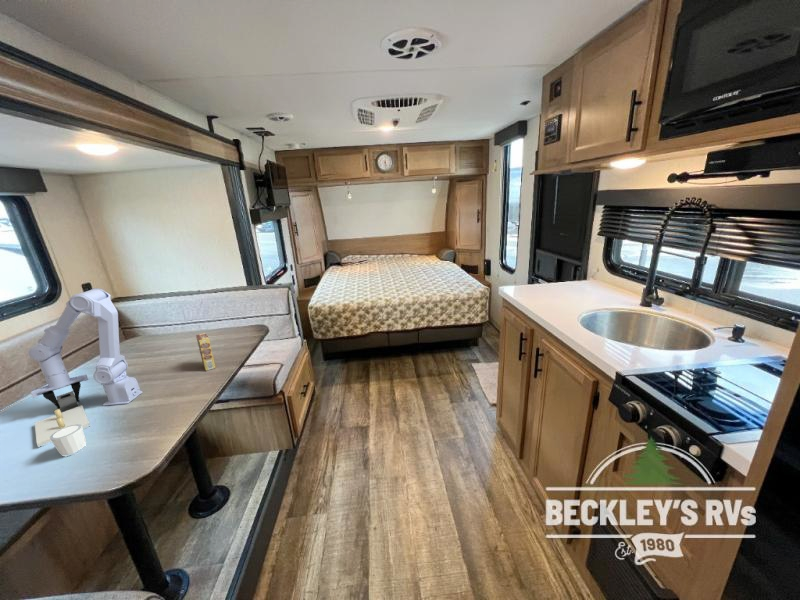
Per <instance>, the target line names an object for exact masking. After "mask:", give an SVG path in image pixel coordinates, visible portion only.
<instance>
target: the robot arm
mask: <svg viewBox="0 0 800 600" xmlns="http://www.w3.org/2000/svg"><path fill="white" fill-rule="evenodd" d="M111 297H112V295H111V294H110V293H109V292H107V291H105V290H104V289H102V288H91V289H90V290H87V291H83V292H80V293H75V294H73V295H72V296H71V297H70V298H69V300H68V301H67V302H66V303H65V305H66V306H65V308H64V310H63V312H62V313H61V315H60V317H59V318H58V319H57V322H56V324H55V325H50V326H49V327H47V328H44V330H43V332H44V334H43V335H42V337H41V338H39V339H38V340H37V344H36V345H33V346H30V348H29V350H28V356H29V358H30V359H31V360H34V361H35V362H37V363H38V365H39V368H40V370H41V372H42V375H43V377H44V379H45V381H46V384H47V385H45V386H42V387H39V388H38V389H35V390H32V391H30V395H31V397H32V398H37V397H38V396H41V395H42V396H43V398H44V399H46V400H47V401H50V402H51V403H52V404H54V405H55V407H57V408H56V409H60V410H61V408H60V406H59V403H58V401H57V397H56V394H55V391H57V390H59V389H60V390H61V389H64V388H66V387H70V386H71V389H72V391H73V393H74V395H75V398H76V400H77V402H78V403H80V391H81V388H82V387H81V382H85V381H88V380H89V378H88V375H87V374H86V373H85V374H82V375H77V376H74V377H70V375H69V372H68V370H67V367H66V366H65V365H66V364H65V363H64V360H63V358H62V356H63V355H62V354H63V353H62V352H63V348H64V347H63V345H64V342H65V341H66V340H67V338H68V337H69V335H70V333H71V331H70V329H69V328H70V327H71V326H72V324H73V323H74V322H75V320H76V319H77V318H78V317H79V316H80V315H81V313H83V314H86V315H88V316H91V317H94V318H96V319H97V326H98V328H97V329H98V330H97V331H98V345H99V360H97V361H98V362H97V364H96V365H95V371H94V373H93V379H94V381H95V382H97V383H98V384H100V385H102V387H103V389H104V393H105V394H106V397H107V401H105V402H104V403H103V404H102V406H113V405H114V406H115V405H125V404H126V405H127V404H129V403H130V402H131V401H133V400H134V399H136V398H137V397H138V396H140V395H142V393H143V391H142V390H141V388H140V386H139V382H138V380H137V379H136V378H135V377H133V376H132V377H131V376H129V375H127V370H128V369H129V366H128V365H129V364H128V362H127V361H126V357H125V355H123V354H121V351H120V349H121V348H120V336H119V335H120V333H119V332H120V331H119V313H118V309H117V307H115V305H114V303H113V301H112V298H111Z"/></svg>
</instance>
